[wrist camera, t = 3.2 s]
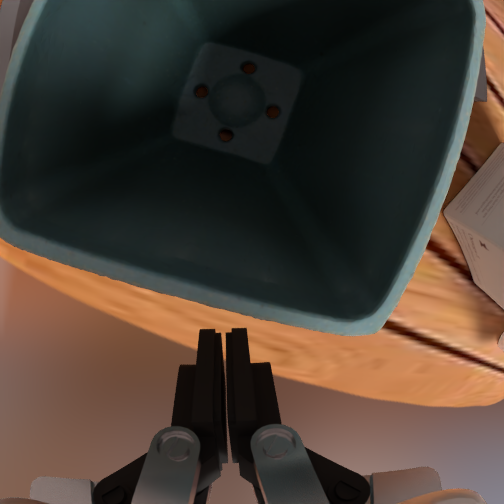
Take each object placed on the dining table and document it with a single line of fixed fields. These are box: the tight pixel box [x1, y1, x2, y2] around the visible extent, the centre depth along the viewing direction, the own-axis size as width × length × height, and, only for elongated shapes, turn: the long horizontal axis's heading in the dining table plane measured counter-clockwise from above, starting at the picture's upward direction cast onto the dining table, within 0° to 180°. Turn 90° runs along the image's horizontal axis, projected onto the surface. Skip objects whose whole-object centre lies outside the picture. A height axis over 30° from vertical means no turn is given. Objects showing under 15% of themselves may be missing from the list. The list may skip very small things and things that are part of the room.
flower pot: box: [0, 0, 486, 336], centre depth 7 cm, size 9×9×9 cm
